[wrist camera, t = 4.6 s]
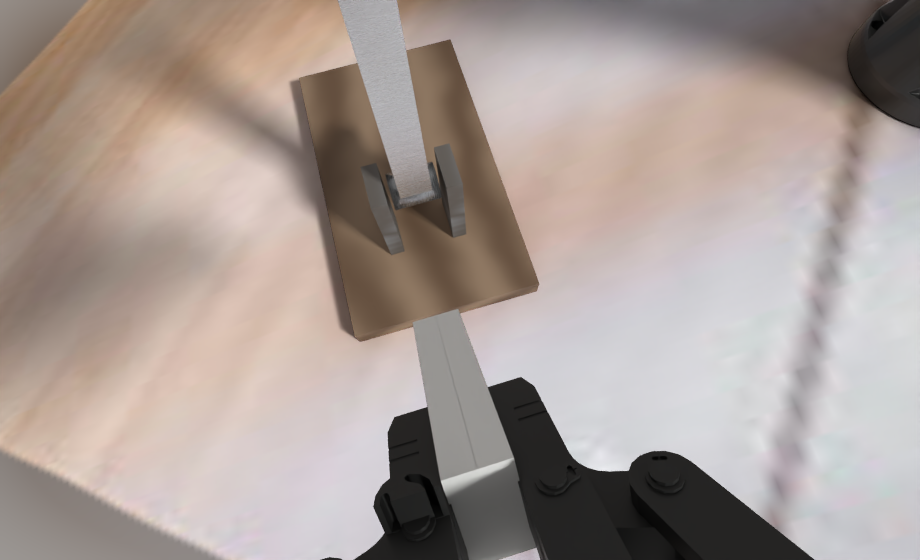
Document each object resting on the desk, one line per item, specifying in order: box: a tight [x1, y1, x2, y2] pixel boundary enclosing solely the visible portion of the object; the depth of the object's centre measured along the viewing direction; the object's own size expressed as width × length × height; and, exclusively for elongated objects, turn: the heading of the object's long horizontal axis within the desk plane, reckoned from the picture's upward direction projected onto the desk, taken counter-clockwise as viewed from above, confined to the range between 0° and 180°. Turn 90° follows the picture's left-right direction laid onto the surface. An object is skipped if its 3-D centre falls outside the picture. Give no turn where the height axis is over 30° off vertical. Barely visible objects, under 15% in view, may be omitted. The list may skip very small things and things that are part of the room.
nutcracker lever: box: [338, 0, 442, 210], centre depth 28 cm, size 4×8×24 cm, turn 16°
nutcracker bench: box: [299, 40, 539, 342], centre depth 43 cm, size 16×28×10 cm, turn 16°
